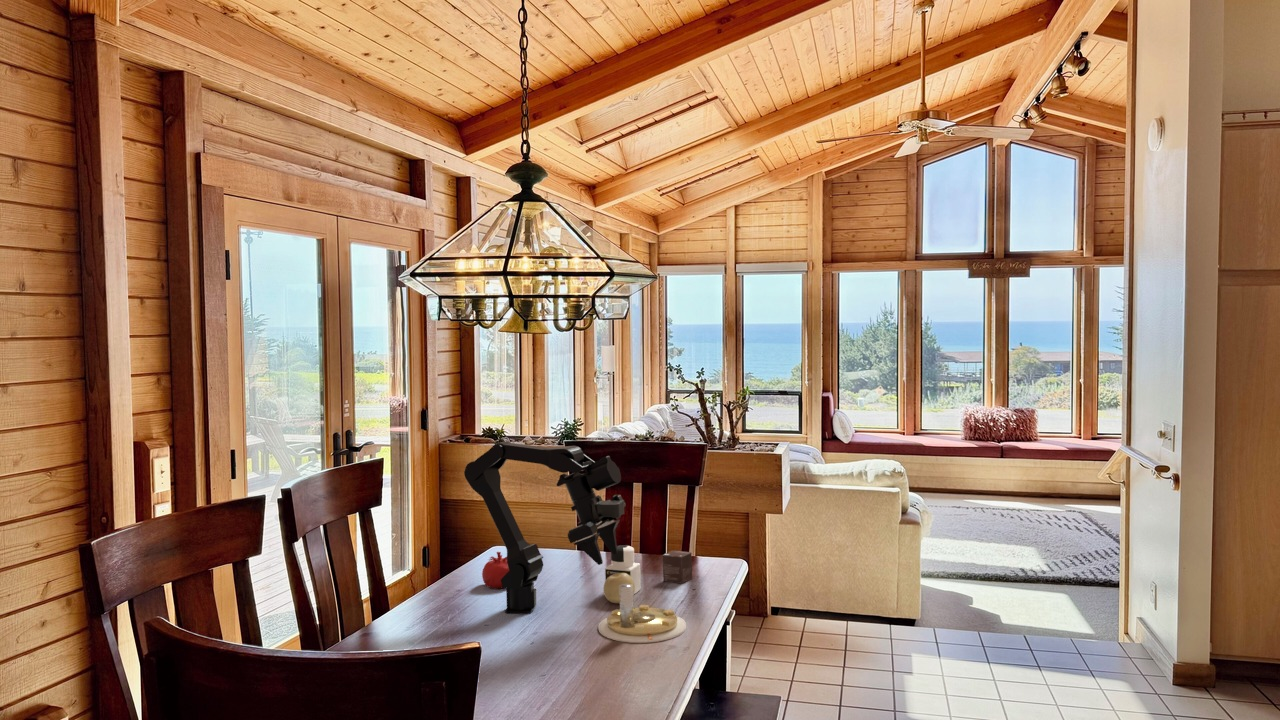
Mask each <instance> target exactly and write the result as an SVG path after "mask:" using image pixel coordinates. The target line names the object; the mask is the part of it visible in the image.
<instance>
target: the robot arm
mask: <svg viewBox="0 0 1280 720" xmlns="http://www.w3.org/2000/svg"><path fill="white" fill-rule="evenodd" d="M509 460H510V461H517V462H523V463H524V462H525V463H531V464H538V465H539V464H540V465H543V466H546V467H547V468H549V469H550V470H552V471H556V472H558V473H562V474H560V475H559V479H558V481H557V483H556V486H557V487H562V486H563V485H565V487H566V489H567V492H568V494H569V498H570V499H571V501H572V504H573V505H572V506H570V509H571V511H572V512H574V511H575V512H576V514H577V518H578V519H579V522H577V526H575V527H573V528H572V529H569V530H568V533H567V538H568V541H569V543H570V544H573V545H574V546H577V547H578V548H579V549H581V550H582V551H583V552H584V553H585V554H586V555H587V556H588V557H589V558H590V559H592V560H593V562H595V563H596V564H597V565H598V566H600V565H603V564H604V562H603V557H602V554H601V549H600V547H599V542H598V539H599V538H600V539H601V540H602V542H603V543H604V545H605V546H606V547H607V549H608V550H609V551H610V553H611V552H612V554H616V553H617V546H618V545H617V536H616V528H617V527H618V524H619V523H620V519H621V516H622V515H625V507H626V506H627V503H626V502H625V499H623V497H622V495H621V494H614V495H612V497H611V499H608V500H603V499H602V496H600V495H599V494H598V495H596V493H595V491H602V490H604V489H607V488H610V487H611V486H615V485H617V484H619V483H621V480H622V475H621V471H620V467H619V466H618V465H617V464H616V462H614V461H613V460H612V459H611V456H610V455H607V456H604V457H602V458H600V459H599V460H596V461H594V460H593V459H591V458H590V457H589V456H587V455H586V454H585V453H584V452H583V449H582V448H581V447H579V446H577V445H568V446H567V445H564V446H556V447H545V446H539V445H538V446H536V445H530V444H529V445H528V444H522V443H513V442H509V441H502V442H501V441H500V442H496V443H494V444H493V446H491V447H490V448H489V449H488V450H487V451H486V452H485V453H483V454H482V455H480V456H479V457H477V458H476V459H475V460H473V461H471V462H469V463H467V464H466V465H465V469H464V471H463V474H464V475H463V476H464V478H465V480H466V481H467V483H468V484H469V486H470V487H471V489H472V490H473V491H474V492H475V493H477V494H478V495H479V496H480V497H481V498H482V499H483V501H484V504H485V506H486V508H487V511H488V512H489V515H490V517H491V518H492V520H493V523H494V524H495V527H496V529H497V531H498V533H499V536H500V537H501V540H502V542H503V544H504V546H505V548H506V557H507V564H508V568H509V571H508V572H507V574H506V575H505V576H504V577H503V578H502V579H501V583H502V586H503V588H502V589H506V590H505V591H506V608H505V610H504V613H505V614H507V613H509V614H510V613H511V614H513V613H515V614H521V613H522V614H531V613H532V612H533V611H534V609H535V608H536V606H537V589H536V588H535V584H534V583H535V582H536V581H538V577H539V575H541V573H542V571H543V568H544V561H543V559H544V556H543V555H542V554H541V553H540V549H539V547H538V545H537V543H533V544H530V543H529V542H527V541H526V540H525V537H524V535H523V533H522V531H521V529H520V527H519V525H518V523H517V521H516V519H515V517H514V514H513V512H512V510H511V508H510V506H509V504H508V502H507V500H506V498H505V496H504V494H503V491H502V489H501V474H500V471H499V470H500V469H501V468H502V467H503V466H504V465H505V464H506V462H507V461H509ZM583 471H584V473H580V472H583ZM569 472H571V473H570V474H566V473H569Z"/></svg>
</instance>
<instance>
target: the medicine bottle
mask: <svg viewBox="0 0 1280 720" xmlns="http://www.w3.org/2000/svg"><path fill="white" fill-rule="evenodd" d="M610 560H611V561H610V563H611V564H609V565H608V566H607V567H605V569H604V570H605V571H604V574H605V580H606V579H607V578H608V577H609V576H611V575H613V574H617V573H626V574H628V575H629V576H630V577H631V578H632V579H633V581H634V585H635V592H634V595H636V594H637V593H638V592H639V591H641V589H642V587H641V586H642V585H641V584H642V583H641V581H642V579H641V563H639V562H635V548H634V547H632V546H630V545H628V544H625V545H623V544H621V545H617V553H616V554H612V552H611V551H610Z"/></svg>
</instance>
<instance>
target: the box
mask: <svg viewBox="0 0 1280 720" xmlns="http://www.w3.org/2000/svg"><path fill="white" fill-rule="evenodd" d="M692 559H693V558H692V552H691V551H684V550H683V551H682V550H681V551H680V550H675V549H674V550H670V551H668V552H665V553H664V554H662V575H663V576H662V578H663V582H668V581H669V582H668V583H675V582H676V583H678V584H685V583H686V582H687V581H690V580H691V578H692V579H693V564H692V563H693V562H692V561H693V560H692Z"/></svg>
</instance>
